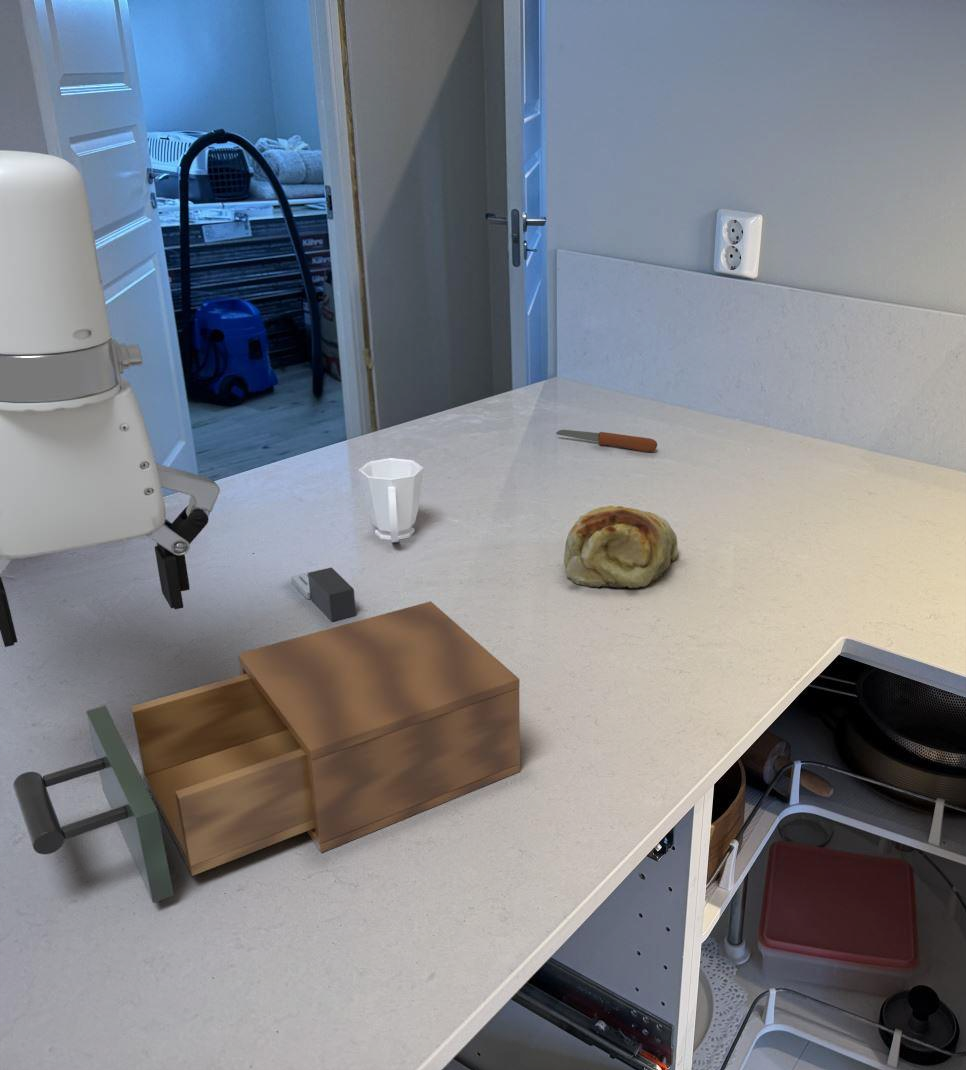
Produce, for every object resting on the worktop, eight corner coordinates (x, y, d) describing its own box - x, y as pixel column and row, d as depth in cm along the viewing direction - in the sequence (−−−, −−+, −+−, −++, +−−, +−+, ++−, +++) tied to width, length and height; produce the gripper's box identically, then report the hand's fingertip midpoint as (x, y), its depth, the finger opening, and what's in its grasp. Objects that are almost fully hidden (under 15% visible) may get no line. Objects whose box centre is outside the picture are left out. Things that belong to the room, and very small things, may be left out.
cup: (424, 519, 120) (422, 456, 116) (428, 554, 111) (425, 488, 108) (363, 522, 118) (359, 458, 114) (362, 558, 109) (357, 490, 106)
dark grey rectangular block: (359, 614, 98) (356, 587, 97) (328, 623, 96) (326, 595, 95) (320, 576, 105) (318, 550, 103) (291, 583, 103) (288, 557, 101)
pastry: (581, 600, 104) (582, 531, 101) (546, 551, 114) (547, 487, 111) (702, 583, 110) (707, 517, 107) (659, 538, 120) (663, 476, 117)
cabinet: (321, 853, 68) (309, 750, 65) (250, 747, 78) (237, 653, 74) (520, 771, 78) (519, 678, 74) (434, 686, 87) (431, 600, 84)
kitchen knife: (657, 451, 149) (658, 438, 148) (655, 454, 148) (656, 441, 147) (557, 437, 151) (557, 425, 150) (554, 440, 150) (554, 427, 149)
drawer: (59, 941, 59) (36, 851, 56) (19, 817, 68) (-2, 735, 65) (377, 814, 71) (371, 735, 68) (307, 723, 80) (299, 650, 77)
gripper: (185, 344, 68) (217, 568, 74) (-142, 369, 57) (-71, 627, 64) (216, 371, 62) (246, 610, 69) (-139, 404, 52) (-61, 681, 59)
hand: (94, 618), depth 67 cm, fingers open, 9 cm apart
